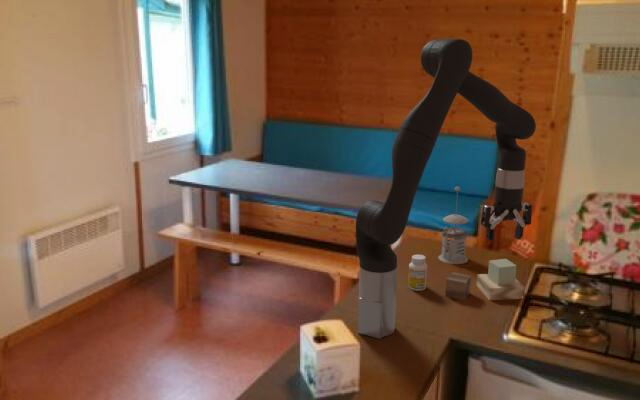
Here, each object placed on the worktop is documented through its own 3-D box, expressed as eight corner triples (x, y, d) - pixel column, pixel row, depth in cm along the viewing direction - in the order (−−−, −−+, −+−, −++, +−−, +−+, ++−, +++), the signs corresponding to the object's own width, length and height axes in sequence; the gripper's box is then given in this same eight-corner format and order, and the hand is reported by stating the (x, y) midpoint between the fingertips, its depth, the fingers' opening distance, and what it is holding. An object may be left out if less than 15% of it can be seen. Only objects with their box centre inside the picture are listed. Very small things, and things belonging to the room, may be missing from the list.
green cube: (497, 285, 162) (499, 267, 160) (487, 278, 167) (489, 260, 165) (514, 283, 163) (516, 265, 162) (504, 276, 168) (506, 258, 167)
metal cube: (464, 300, 161) (465, 282, 159) (445, 296, 163) (446, 278, 162) (469, 293, 165) (471, 276, 164) (451, 289, 168) (452, 272, 166)
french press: (473, 258, 192) (478, 186, 185) (455, 268, 183) (460, 193, 177) (447, 251, 198) (452, 181, 191) (429, 260, 190) (433, 187, 183)
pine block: (489, 301, 161) (490, 288, 160) (476, 286, 171) (477, 274, 170) (523, 299, 162) (524, 287, 161) (508, 285, 172) (509, 273, 170)
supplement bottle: (413, 282, 173) (415, 252, 170) (429, 286, 170) (431, 256, 167) (404, 287, 169) (405, 257, 166) (420, 292, 166) (422, 261, 163)
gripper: (492, 189, 152) (487, 245, 157) (540, 186, 155) (534, 242, 160) (479, 182, 160) (475, 237, 164) (525, 180, 162) (519, 234, 167)
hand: (504, 239), depth 162 cm, fingers open, 8 cm apart
